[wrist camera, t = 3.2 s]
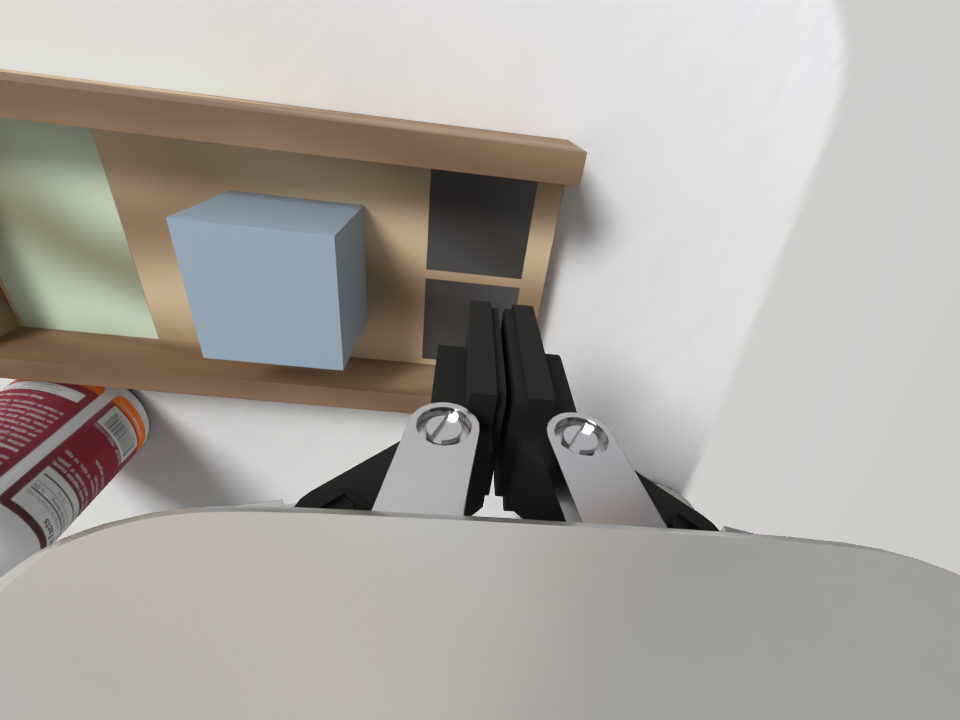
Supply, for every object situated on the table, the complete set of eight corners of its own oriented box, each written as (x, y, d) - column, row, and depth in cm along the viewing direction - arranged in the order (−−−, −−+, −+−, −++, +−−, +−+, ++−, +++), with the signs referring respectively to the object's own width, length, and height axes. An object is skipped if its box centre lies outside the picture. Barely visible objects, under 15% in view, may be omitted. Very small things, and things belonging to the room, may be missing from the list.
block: (367, 320, 19) (343, 370, 16) (252, 309, 19) (203, 357, 16) (364, 205, 17) (334, 235, 13) (230, 190, 16) (165, 217, 13)
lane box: (521, 378, 22) (527, 423, 19) (26, 332, 21) (-48, 373, 18) (568, 140, 16) (586, 152, 14) (-114, 54, 15) (-259, 47, 12)
